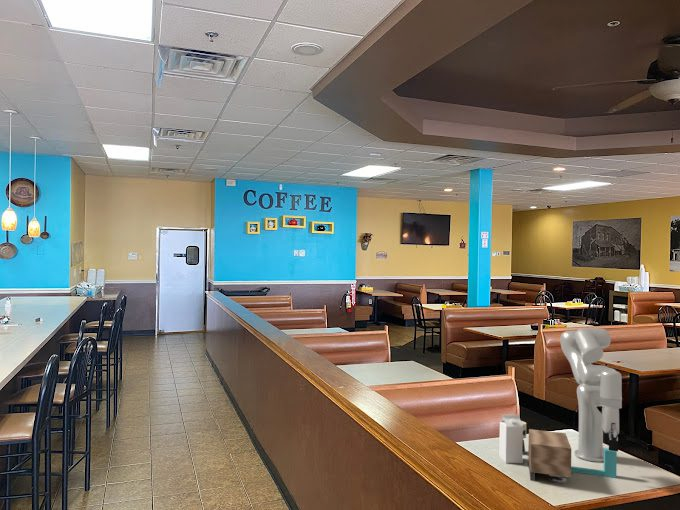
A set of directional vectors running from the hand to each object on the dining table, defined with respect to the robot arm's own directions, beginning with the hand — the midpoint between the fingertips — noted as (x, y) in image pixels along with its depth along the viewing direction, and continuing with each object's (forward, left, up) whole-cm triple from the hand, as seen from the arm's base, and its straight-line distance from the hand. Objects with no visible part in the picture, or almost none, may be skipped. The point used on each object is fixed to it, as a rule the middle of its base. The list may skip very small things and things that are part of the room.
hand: (610, 447), depth 202 cm
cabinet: (+23, +7, -11) cm, 27 cm away
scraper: (+7, -1, -11) cm, 14 cm away
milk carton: (+37, -4, -12) cm, 39 cm away
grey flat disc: (+20, +11, -12) cm, 26 cm away
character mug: (+34, -16, -12) cm, 39 cm away
